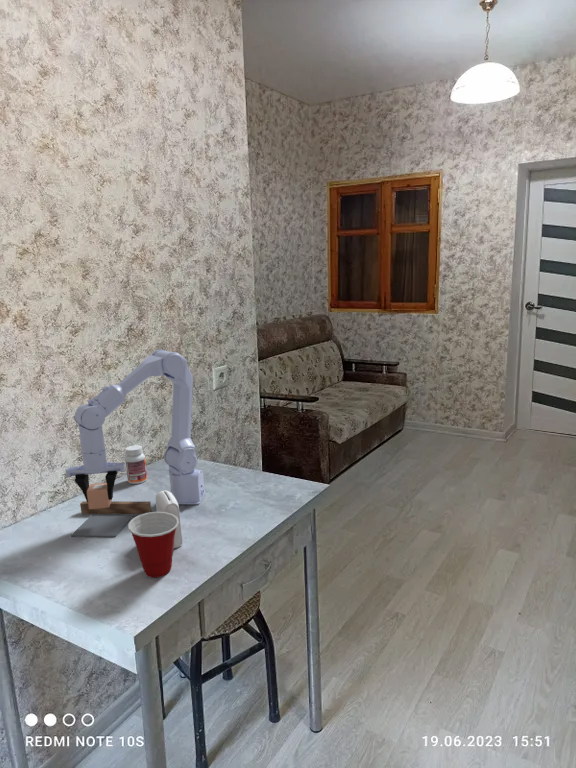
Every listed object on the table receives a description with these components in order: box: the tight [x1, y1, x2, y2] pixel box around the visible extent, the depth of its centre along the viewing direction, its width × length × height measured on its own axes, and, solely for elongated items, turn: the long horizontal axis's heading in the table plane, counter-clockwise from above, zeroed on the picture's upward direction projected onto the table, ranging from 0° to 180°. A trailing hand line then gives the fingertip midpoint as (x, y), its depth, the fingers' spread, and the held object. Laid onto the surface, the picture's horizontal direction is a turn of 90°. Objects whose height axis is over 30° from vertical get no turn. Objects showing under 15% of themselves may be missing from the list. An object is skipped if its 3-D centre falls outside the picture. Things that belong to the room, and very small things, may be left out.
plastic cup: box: [127, 511, 179, 578], centre depth 119 cm, size 11×11×12 cm
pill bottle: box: [124, 444, 148, 485], centre depth 173 cm, size 6×6×11 cm
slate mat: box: [70, 514, 135, 538], centre depth 143 cm, size 12×12×1 cm
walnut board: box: [79, 500, 152, 515], centre depth 151 cm, size 20×2×3 cm, turn 83°
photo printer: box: [155, 489, 183, 549], centre depth 133 cm, size 10×4×12 cm, turn 26°
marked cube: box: [87, 482, 113, 509], centre depth 142 cm, size 5×5×5 cm
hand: (100, 499), depth 142 cm, fingers closed on marked cube, 5 cm apart
